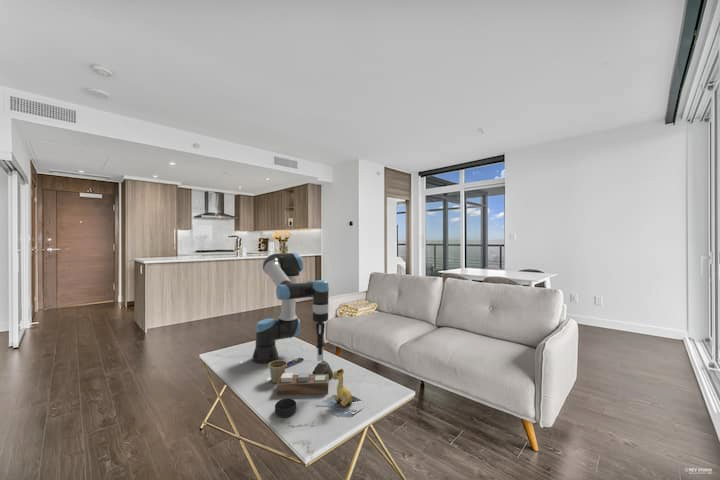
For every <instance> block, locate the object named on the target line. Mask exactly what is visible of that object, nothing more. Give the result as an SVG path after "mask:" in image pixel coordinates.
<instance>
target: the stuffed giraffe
mask: <svg viewBox="0 0 720 480" xmlns="http://www.w3.org/2000/svg"><path fill="white" fill-rule="evenodd" d="M344 374H345V370H344V369H343V368H340V369H338V370H337V369H335V370H334V372H333V377H332V379H333V380H334V381H336V380H338V383H337V387H336V394H332V395H331V396H329V397H327V398H326V399H324V400H323V401H322V403H326V404H325V405H324V404H323V405H319V404H317V405H316V407H317V408H327V409H326V410H325V411H326V412H328V413H329V414H332V415H334V416H337V417H338V418H347V419H350V418H349V417H351V418H352V417H353V416H354V415H352V413H351V412H356V411H357V409H354V410H355V411H351V410H352V409H347V410H345V409H341V408H346V406H347V407H351V406H350V404H351V405H352V404H353V403H352V402H356V401H357V402H358V401H361V400H362V399H360V398H358V397H356V396H354V395H352V393H351V392H350V390H348V389H347V388H346V387H345V386H344V377H343V375H344ZM338 406H339V407H341V408H339V407H338ZM349 411H351V412H349Z"/></svg>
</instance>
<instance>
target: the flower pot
mask: <svg viewBox="0 0 720 480" xmlns="http://www.w3.org/2000/svg"><path fill="white" fill-rule="evenodd" d="M267 364H268V368H269V372H270V378H271V379H270V380H271V382H272V383H274V384H277V383H278V381H279V378H280V376H281V375H282V374H283V373H286V368H287V365H288V362H287V361H286V360H283V359H282V360H281V359H277V360H275V361H272V362H269V363H267Z"/></svg>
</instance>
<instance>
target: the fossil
mask: <svg viewBox="0 0 720 480" xmlns="http://www.w3.org/2000/svg"><path fill="white" fill-rule="evenodd" d="M333 373H334V372H333V370H332V368H331V366H330V363H328V361H326V360H323V361H321V362H320V361H319V362H318V363H317V365H316V366H315V367H314V370H313V371H312V373H311V374H329V380H330V379H333Z"/></svg>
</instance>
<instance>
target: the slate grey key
mask: <svg viewBox="0 0 720 480" xmlns="http://www.w3.org/2000/svg"><path fill="white" fill-rule="evenodd" d="M309 374H310V372H298V375H299V376H298V382H308V381H309Z"/></svg>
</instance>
